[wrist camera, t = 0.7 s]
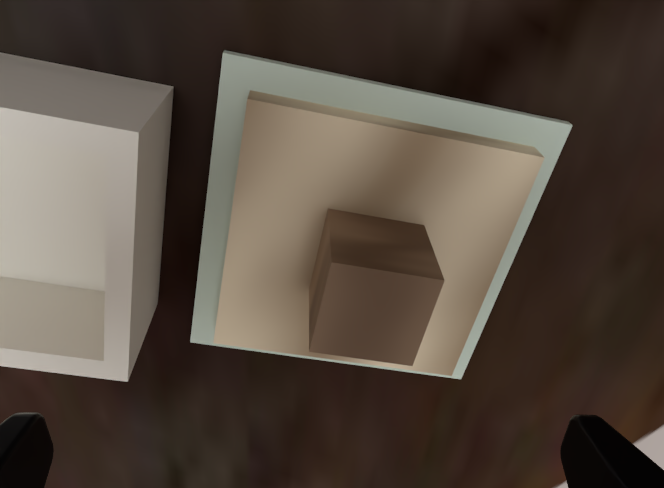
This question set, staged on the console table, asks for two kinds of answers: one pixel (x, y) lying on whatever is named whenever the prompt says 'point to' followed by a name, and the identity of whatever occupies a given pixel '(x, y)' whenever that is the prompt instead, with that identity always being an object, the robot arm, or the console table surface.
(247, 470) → the console table surface
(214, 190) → the mat
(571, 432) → the robot arm
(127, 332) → the beige boxy piece
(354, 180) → the lid
